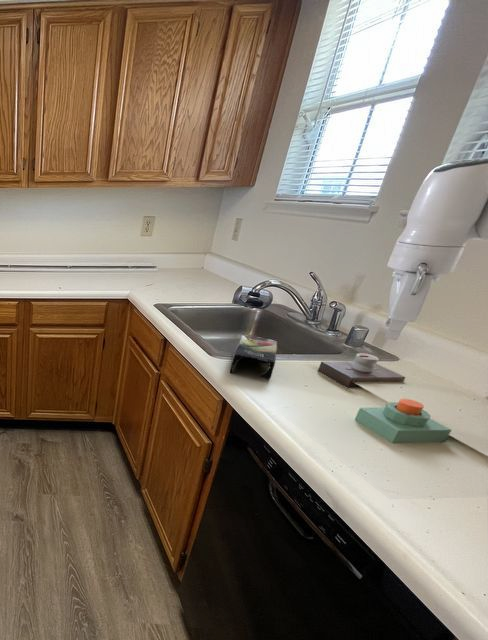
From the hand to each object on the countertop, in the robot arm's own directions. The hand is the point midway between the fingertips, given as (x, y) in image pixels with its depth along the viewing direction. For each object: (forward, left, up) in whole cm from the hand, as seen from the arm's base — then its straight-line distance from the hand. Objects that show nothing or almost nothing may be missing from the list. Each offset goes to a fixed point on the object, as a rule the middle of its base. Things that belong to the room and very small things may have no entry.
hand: (390, 332), depth 81 cm
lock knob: (-20, -21, -18) cm, 34 cm away
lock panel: (-20, -21, -21) cm, 35 cm away
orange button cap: (-8, +3, -16) cm, 18 cm away
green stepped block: (-8, +3, -21) cm, 22 cm away
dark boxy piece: (+3, -30, -21) cm, 36 cm away
